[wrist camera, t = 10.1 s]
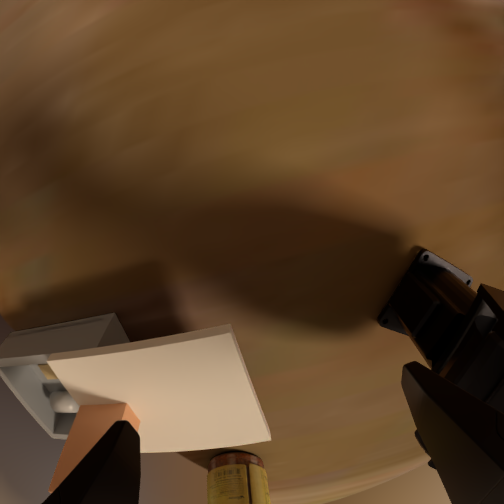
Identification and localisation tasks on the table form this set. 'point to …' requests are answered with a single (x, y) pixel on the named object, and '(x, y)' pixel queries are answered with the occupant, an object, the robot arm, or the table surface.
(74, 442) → the lid
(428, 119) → the table surface
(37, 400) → the parts tub
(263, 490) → the sauce bottle
